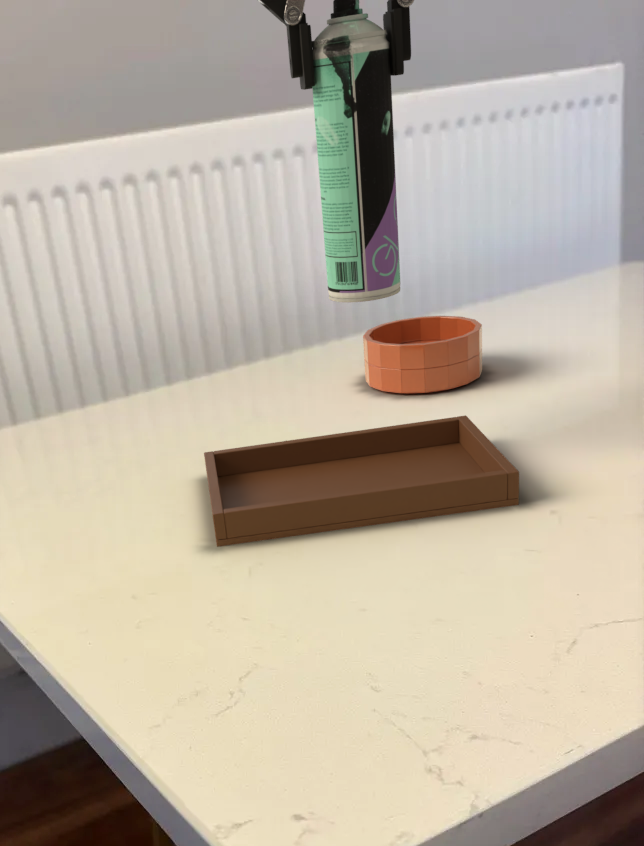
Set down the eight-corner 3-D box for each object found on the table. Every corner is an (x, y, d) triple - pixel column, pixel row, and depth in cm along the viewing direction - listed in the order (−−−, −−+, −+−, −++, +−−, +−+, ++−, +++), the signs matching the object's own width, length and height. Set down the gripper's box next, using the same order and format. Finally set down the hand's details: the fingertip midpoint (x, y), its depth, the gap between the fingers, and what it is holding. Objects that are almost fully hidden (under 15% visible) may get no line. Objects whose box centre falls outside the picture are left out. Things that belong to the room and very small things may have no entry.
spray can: (406, 296, 76) (392, -14, 67) (332, 306, 77) (309, -1, 68) (394, 282, 81) (380, -9, 72) (325, 292, 81) (302, 4, 72)
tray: (466, 445, 85) (466, 415, 84) (519, 506, 73) (519, 471, 72) (207, 481, 85) (203, 452, 84) (217, 548, 73) (212, 514, 72)
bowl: (464, 358, 108) (463, 310, 105) (495, 386, 98) (495, 334, 95) (357, 373, 108) (354, 326, 106) (378, 403, 98) (376, 351, 96)
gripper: (454, -247, 67) (460, 63, 75) (194, -203, 68) (227, 99, 76) (485, -283, 60) (488, 62, 68) (195, -233, 61) (232, 101, 69)
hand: (350, 78), depth 72 cm, fingers closed on spray can, 5 cm apart
